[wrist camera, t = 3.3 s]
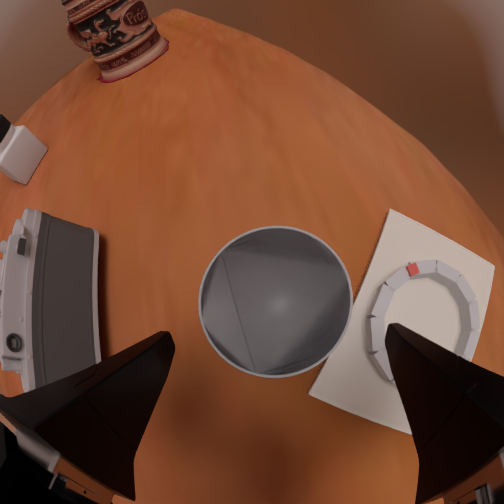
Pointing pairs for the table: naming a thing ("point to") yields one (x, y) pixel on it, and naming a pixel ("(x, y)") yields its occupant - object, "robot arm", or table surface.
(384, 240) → the board
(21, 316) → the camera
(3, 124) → the medicine bottle
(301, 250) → the grey round piece
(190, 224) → the table surface
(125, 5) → the beer stein
